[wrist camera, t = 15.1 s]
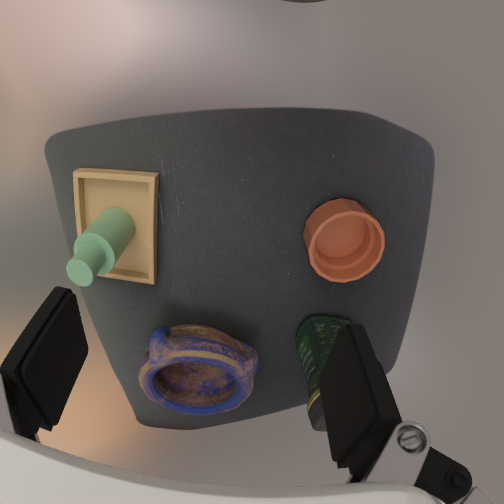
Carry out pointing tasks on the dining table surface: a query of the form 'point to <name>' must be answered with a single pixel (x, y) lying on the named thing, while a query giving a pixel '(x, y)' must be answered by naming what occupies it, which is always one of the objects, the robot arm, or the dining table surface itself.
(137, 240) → the tray
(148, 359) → the bowl
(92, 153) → the dining table surface
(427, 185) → the dining table surface
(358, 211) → the clay bowl
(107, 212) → the bottle
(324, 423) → the coffee jar
